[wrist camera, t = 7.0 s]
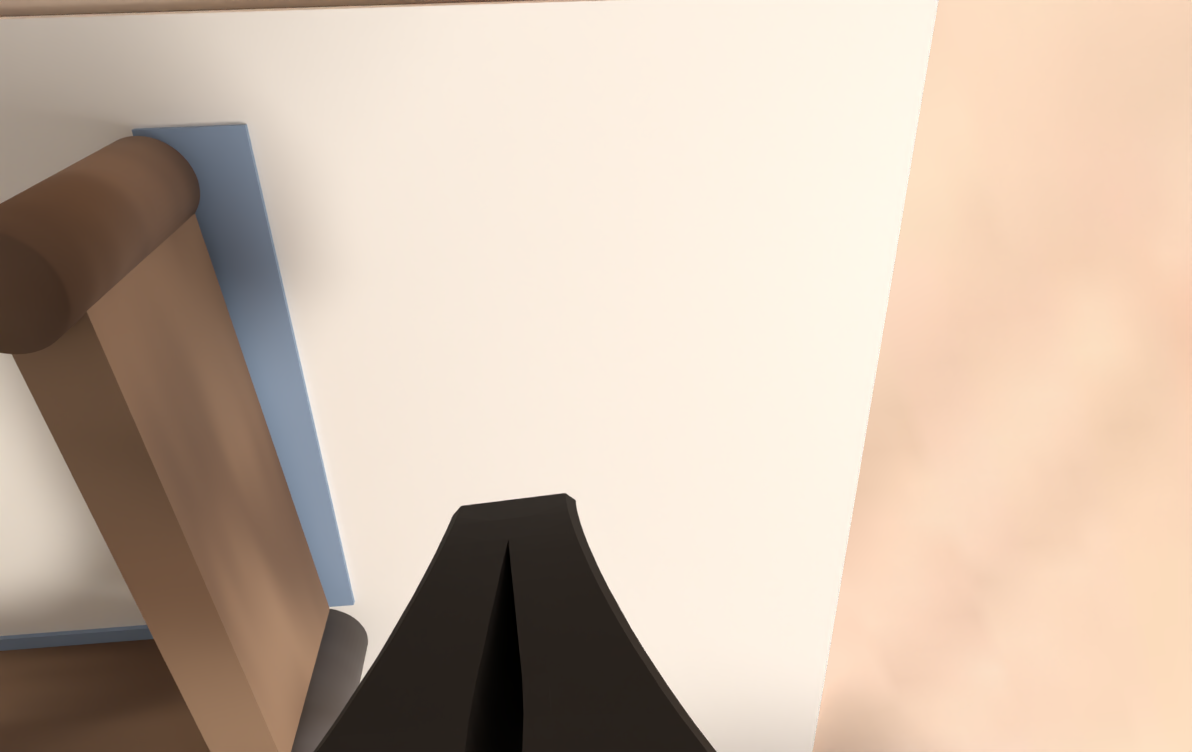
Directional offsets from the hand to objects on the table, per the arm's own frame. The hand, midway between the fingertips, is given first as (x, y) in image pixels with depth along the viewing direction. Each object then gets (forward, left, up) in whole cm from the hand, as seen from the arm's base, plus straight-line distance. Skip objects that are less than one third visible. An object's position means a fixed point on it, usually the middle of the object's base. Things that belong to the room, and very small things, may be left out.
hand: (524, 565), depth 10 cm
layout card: (-4, +5, -6) cm, 8 cm away
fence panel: (0, +5, -5) cm, 7 cm away
